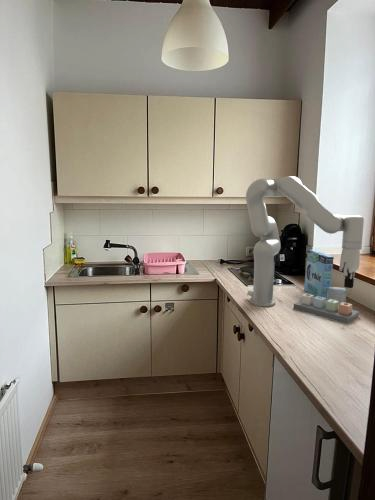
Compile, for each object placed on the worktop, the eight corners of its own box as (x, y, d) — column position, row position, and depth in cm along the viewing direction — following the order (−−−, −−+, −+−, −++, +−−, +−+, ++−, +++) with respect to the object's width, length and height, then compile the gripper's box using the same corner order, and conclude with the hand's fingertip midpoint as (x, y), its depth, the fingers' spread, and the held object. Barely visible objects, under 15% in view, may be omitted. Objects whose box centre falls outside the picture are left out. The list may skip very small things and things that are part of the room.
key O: (301, 303, 162) (302, 294, 161) (305, 301, 165) (306, 292, 164) (309, 305, 159) (310, 296, 158) (313, 303, 162) (314, 294, 161)
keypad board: (293, 308, 161) (293, 303, 160) (305, 303, 169) (305, 298, 169) (348, 324, 143) (348, 318, 143) (358, 316, 151) (359, 311, 151)
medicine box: (343, 304, 167) (345, 287, 166) (345, 307, 163) (346, 290, 161) (326, 303, 169) (327, 286, 168) (327, 306, 165) (328, 288, 164)
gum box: (303, 290, 191) (306, 249, 187) (312, 290, 191) (315, 249, 187) (320, 301, 172) (324, 256, 168) (330, 301, 172) (334, 256, 168)
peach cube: (338, 312, 150) (339, 303, 149) (342, 310, 152) (343, 301, 152) (347, 315, 147) (348, 306, 146) (351, 313, 150) (352, 303, 149)
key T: (313, 306, 158) (313, 297, 157) (317, 304, 160) (317, 295, 160) (321, 308, 155) (322, 299, 154) (325, 306, 158) (326, 297, 157)
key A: (325, 309, 154) (326, 300, 153) (329, 307, 156) (330, 298, 156) (334, 311, 151) (335, 302, 150) (338, 309, 154) (338, 300, 153)
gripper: (349, 242, 152) (346, 282, 155) (335, 246, 142) (332, 289, 145) (367, 244, 147) (364, 285, 150) (354, 248, 136) (350, 292, 139)
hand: (348, 287), depth 147 cm, fingers closed
